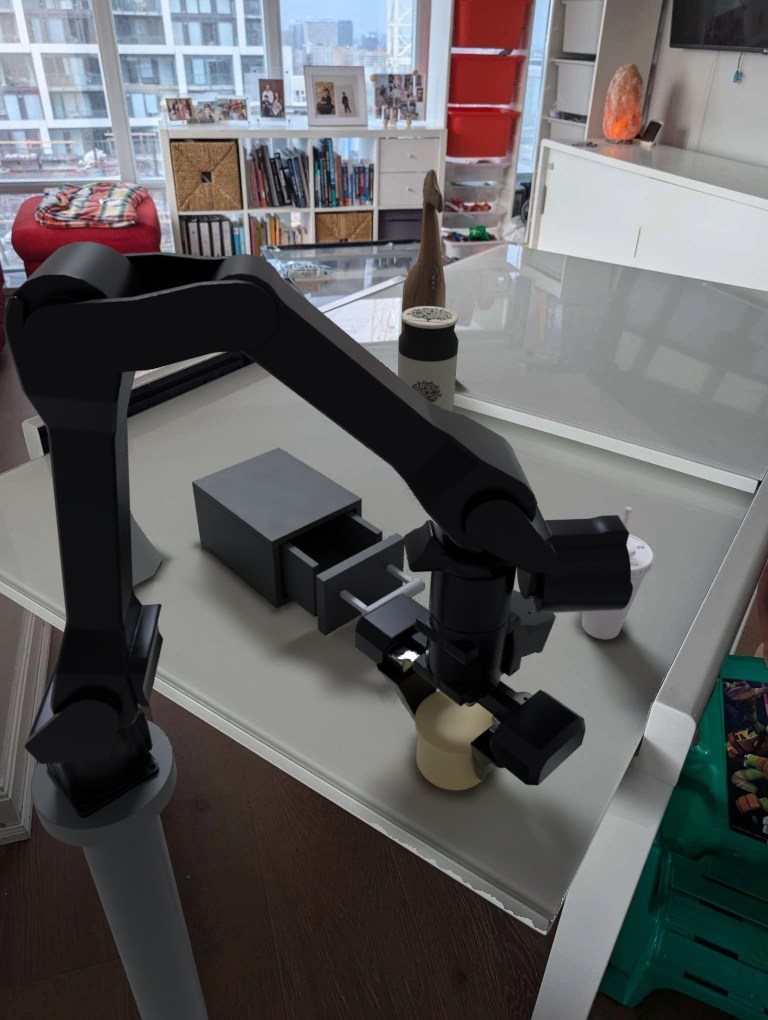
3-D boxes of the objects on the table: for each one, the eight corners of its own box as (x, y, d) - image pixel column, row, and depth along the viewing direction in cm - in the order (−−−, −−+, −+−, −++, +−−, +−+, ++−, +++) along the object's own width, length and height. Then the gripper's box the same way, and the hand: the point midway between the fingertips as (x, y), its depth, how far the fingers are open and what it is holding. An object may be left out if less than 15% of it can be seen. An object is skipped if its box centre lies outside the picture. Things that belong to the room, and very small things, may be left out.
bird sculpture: (404, 397, 120) (413, 180, 102) (375, 369, 129) (378, 165, 111) (466, 386, 124) (485, 175, 106) (433, 360, 133) (445, 161, 115)
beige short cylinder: (454, 809, 59) (459, 769, 56) (396, 756, 63) (397, 717, 60) (509, 761, 62) (515, 722, 60) (450, 715, 66) (454, 676, 64)
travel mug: (405, 420, 113) (410, 302, 103) (457, 429, 111) (466, 309, 101) (388, 444, 107) (391, 320, 97) (442, 454, 105) (451, 329, 95)
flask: (77, 579, 81) (56, 500, 75) (121, 542, 87) (104, 466, 81) (133, 596, 79) (116, 517, 73) (174, 557, 84) (161, 481, 79)
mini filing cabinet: (361, 563, 84) (362, 498, 79) (276, 609, 78) (271, 541, 73) (283, 508, 93) (279, 447, 88) (200, 545, 86) (191, 481, 82)
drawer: (435, 613, 76) (439, 559, 72) (357, 662, 70) (357, 607, 66) (321, 533, 87) (319, 483, 83) (245, 571, 81) (240, 518, 77)
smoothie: (635, 614, 78) (666, 500, 70) (631, 655, 73) (664, 538, 65) (572, 599, 80) (596, 487, 72) (564, 639, 75) (588, 523, 67)
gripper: (648, 622, 52) (606, 767, 61) (450, 509, 64) (439, 645, 72) (550, 705, 46) (519, 854, 55) (349, 563, 57) (350, 705, 66)
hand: (453, 751), depth 62 cm, fingers closed on beige short cylinder, 6 cm apart
